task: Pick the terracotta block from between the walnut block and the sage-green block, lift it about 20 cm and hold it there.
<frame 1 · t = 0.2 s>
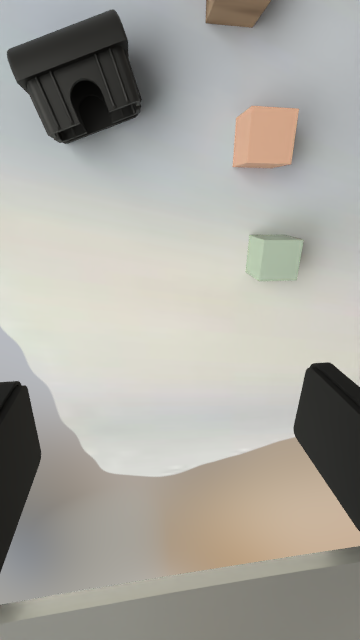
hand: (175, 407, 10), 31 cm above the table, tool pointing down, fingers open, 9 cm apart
sage block: (264, 253, 40), on the table
terracotta block: (254, 144, 35), on the table
end cap: (86, 93, 31), on the table
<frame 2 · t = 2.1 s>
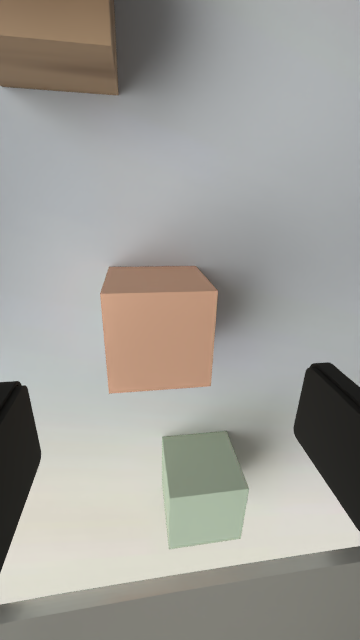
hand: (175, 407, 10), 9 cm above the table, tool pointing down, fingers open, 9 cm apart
sage block: (193, 456, 23), on the table
terracotta block: (153, 306, 18), on the table
walnut block: (54, 18, 12), on the table
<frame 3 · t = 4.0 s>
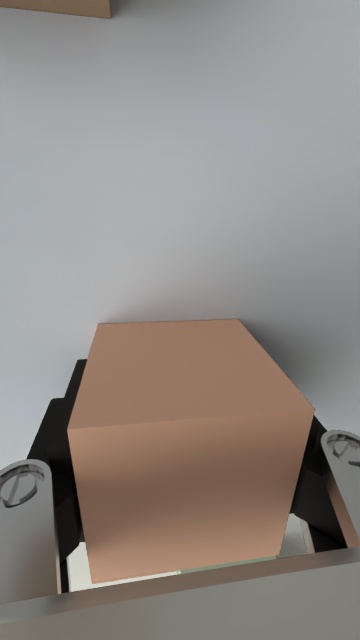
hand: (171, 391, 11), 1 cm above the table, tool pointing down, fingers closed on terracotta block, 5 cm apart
sage block: (219, 566, 17), on the table
terracotta block: (169, 380, 11), on the table, touching gripper
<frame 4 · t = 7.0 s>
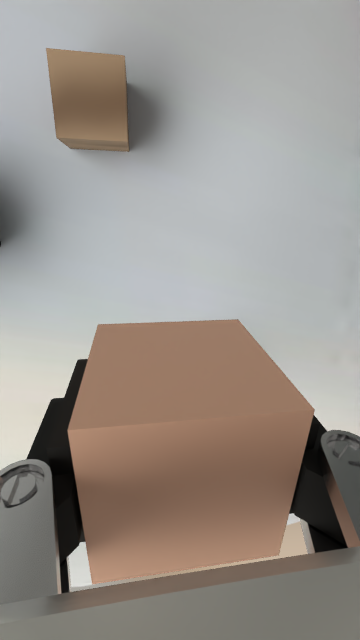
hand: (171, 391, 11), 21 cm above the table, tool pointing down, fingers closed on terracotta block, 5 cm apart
terracotta block: (169, 381, 11), point 21 cm above the table, touching gripper
walnut block: (98, 116, 25), on the table
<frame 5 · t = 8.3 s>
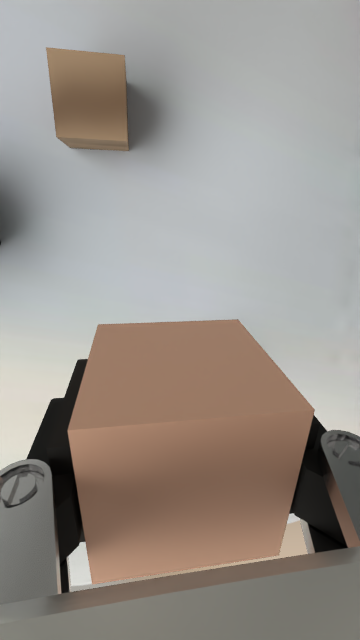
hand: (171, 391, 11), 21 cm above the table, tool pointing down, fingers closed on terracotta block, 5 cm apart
terracotta block: (169, 381, 11), point 21 cm above the table, touching gripper
walnut block: (97, 115, 25), on the table
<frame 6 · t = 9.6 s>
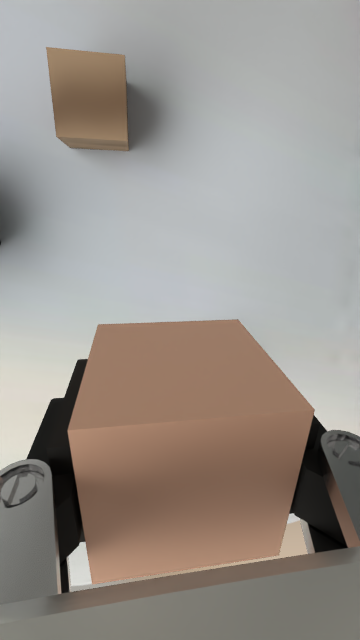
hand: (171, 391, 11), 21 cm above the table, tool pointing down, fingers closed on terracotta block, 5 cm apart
terracotta block: (169, 381, 11), point 21 cm above the table, touching gripper
walnut block: (97, 115, 25), on the table
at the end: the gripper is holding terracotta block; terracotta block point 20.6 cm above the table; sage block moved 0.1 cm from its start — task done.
